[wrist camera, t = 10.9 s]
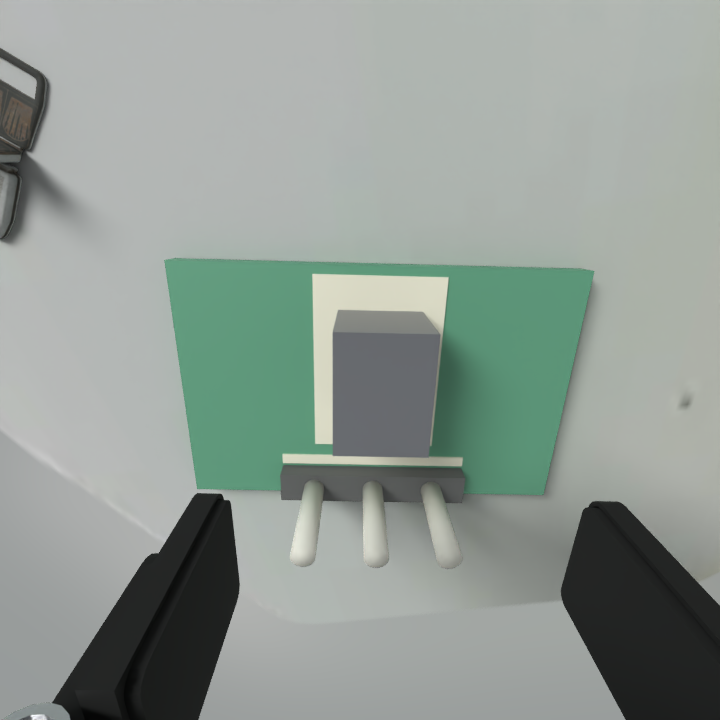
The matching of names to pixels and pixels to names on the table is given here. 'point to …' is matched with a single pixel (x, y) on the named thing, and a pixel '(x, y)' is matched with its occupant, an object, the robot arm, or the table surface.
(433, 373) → the plug block
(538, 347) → the board
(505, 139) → the table surface
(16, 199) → the two-tone hinged device
